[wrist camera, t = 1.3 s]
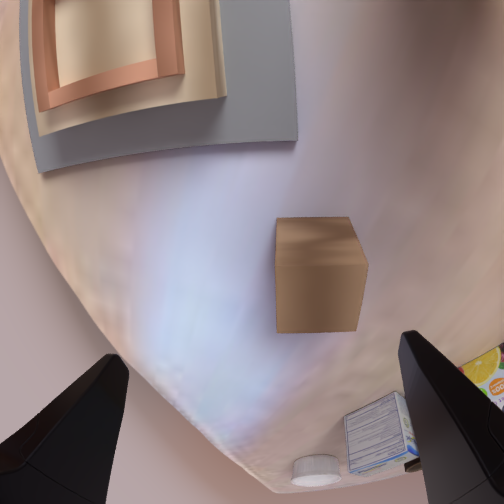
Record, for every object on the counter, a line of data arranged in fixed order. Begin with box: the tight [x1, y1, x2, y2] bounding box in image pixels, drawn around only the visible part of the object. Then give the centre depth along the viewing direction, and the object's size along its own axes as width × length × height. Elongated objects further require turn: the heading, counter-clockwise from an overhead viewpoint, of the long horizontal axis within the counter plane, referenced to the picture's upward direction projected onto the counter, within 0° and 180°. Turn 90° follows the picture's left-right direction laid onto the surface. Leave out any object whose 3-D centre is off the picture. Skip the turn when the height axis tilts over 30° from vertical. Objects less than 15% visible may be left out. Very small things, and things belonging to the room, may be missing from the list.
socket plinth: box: [28, 0, 227, 137], centre depth 12 cm, size 12×12×4 cm
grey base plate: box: [19, 0, 298, 173], centre depth 14 cm, size 20×18×1 cm
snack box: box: [458, 343, 504, 412], centre depth 22 cm, size 21×6×15 cm, turn 123°
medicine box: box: [344, 392, 419, 477], centre depth 30 cm, size 8×4×9 cm, turn 137°
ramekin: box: [291, 455, 341, 487], centre depth 43 cm, size 9×9×4 cm
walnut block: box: [275, 217, 369, 333], centre depth 20 cm, size 5×5×6 cm
